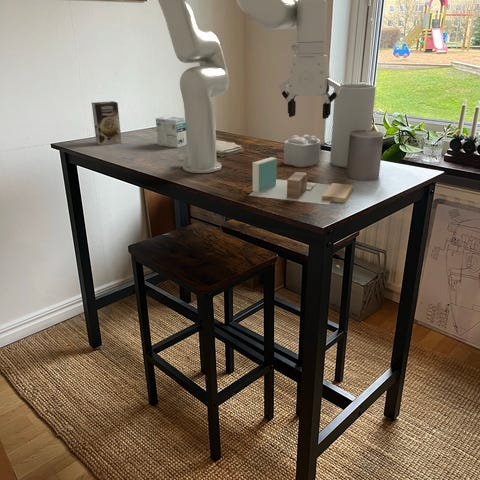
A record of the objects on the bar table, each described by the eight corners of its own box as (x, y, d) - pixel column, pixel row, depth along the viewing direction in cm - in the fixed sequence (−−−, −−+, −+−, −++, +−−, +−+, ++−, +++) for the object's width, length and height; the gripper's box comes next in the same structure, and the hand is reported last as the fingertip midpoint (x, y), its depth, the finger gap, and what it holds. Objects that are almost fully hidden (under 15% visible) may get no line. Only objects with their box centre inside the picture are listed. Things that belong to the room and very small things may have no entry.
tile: (252, 190, 132) (252, 162, 129) (270, 184, 138) (271, 157, 134) (258, 192, 131) (258, 163, 128) (276, 185, 136) (276, 158, 133)
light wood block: (302, 199, 125) (303, 181, 123) (282, 197, 127) (282, 179, 125) (315, 184, 137) (316, 167, 135) (297, 182, 139) (297, 166, 137)
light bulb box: (188, 144, 190) (187, 117, 185) (178, 148, 185) (176, 120, 180) (168, 142, 195) (166, 115, 191) (157, 145, 190) (154, 117, 186)
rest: (321, 202, 125) (322, 195, 124) (331, 189, 135) (331, 182, 134) (344, 204, 123) (345, 198, 122) (352, 191, 133) (353, 185, 132)
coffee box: (100, 145, 190) (94, 104, 184) (96, 142, 196) (90, 102, 189) (122, 142, 195) (117, 102, 188) (117, 140, 200) (113, 100, 193)
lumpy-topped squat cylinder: (279, 162, 163) (280, 137, 159) (303, 155, 171) (304, 131, 168) (303, 168, 156) (304, 141, 153) (327, 160, 164) (328, 135, 161)
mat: (248, 197, 129) (248, 195, 129) (268, 180, 143) (268, 178, 143) (328, 206, 121) (328, 204, 121) (341, 187, 136) (341, 185, 135)
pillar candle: (343, 174, 149) (347, 125, 142) (375, 173, 148) (380, 125, 142) (349, 183, 140) (353, 132, 134) (382, 183, 139) (388, 132, 133)
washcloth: (223, 158, 171) (223, 150, 169) (190, 151, 182) (189, 143, 181) (245, 152, 179) (245, 144, 177) (212, 145, 190) (212, 138, 189)
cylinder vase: (344, 170, 152) (350, 89, 142) (322, 161, 163) (327, 85, 153) (375, 166, 157) (384, 86, 147) (353, 157, 167) (359, 83, 157)
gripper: (274, 50, 124) (273, 117, 130) (338, 49, 116) (335, 121, 123) (285, 49, 130) (284, 113, 136) (347, 48, 122) (343, 116, 129)
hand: (308, 117), depth 130 cm, fingers open, 9 cm apart
